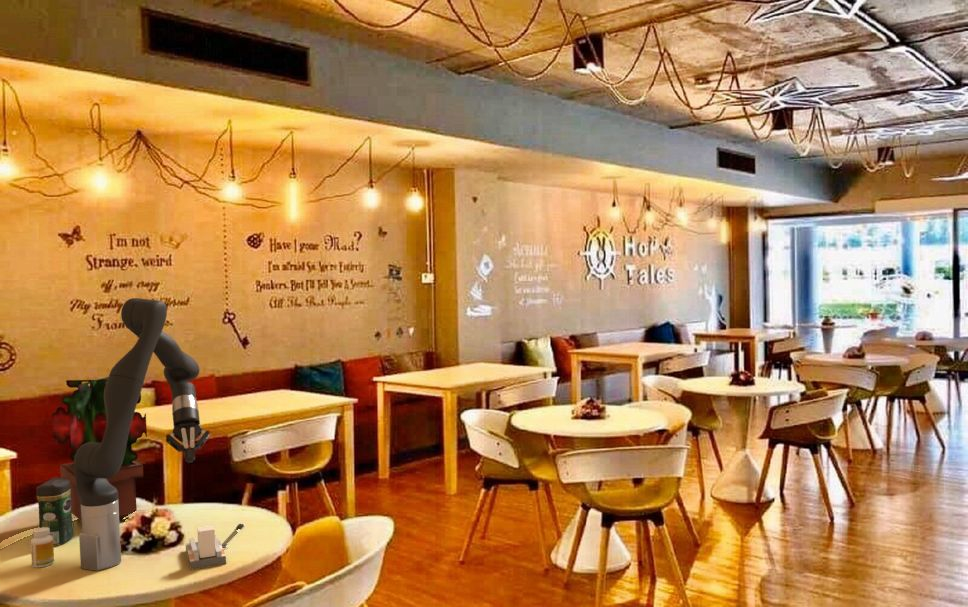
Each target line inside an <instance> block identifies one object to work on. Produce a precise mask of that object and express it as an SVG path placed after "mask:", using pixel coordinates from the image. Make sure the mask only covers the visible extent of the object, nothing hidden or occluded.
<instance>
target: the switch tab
mask: <svg viewBox="0 0 968 607" xmlns="http://www.w3.org/2000/svg"><path fill="white" fill-rule="evenodd" d="M196 529H197V542H198V553H199V557H200V558H205V557H211V556H216V554H215V535H216V534H215V533H216V532H215V530H216V529H215V527H214V525H213V524H211V525H205V526H198V527H197V528H196Z"/></svg>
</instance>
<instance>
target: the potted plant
mask: <svg viewBox="0 0 968 607" xmlns="http://www.w3.org/2000/svg"><path fill="white" fill-rule="evenodd" d="M108 377H109V376H107V377H103V378H99V379H74V380H73V379H68V380H67V379H66V380H65V383H66V386H67V387H68V388H71V389H72V388H75V390H73V392H72V394H71V395H64V396H62V397H61V403H62V404H63V405H65V406H66V407H67V411H66V409H65V408H64V407H62V406H59V407H57V408H56V411H55V412H53V413H52V414H51V416H52V418H51V419H52V435H53V439H56V440H57V442H58V443H59V444H60V445H65V444H66V443H67V441H68V439H69V440H70V443H69V448H70V449H71V450H74V452H71V453H70V456H69V457H70V459H71V461H73V462H69V463H63V464H60V478H66V479H68V480H69V481H70V487H71V494H70V501H71V513H72V516H74V517H76V518H77V519H78V520H79V521H80V522H81V523H82V519H81V500H80V497H79V495H78V493H77V489H76V480H75V471H74V459H75V455H76V452H77V450H78V449H79V448H80V446H82V445H83V444H85V443H88V442H98V443H101V442H102V440H103V437H104V434H105V430H106V426H107V415H106V409H105V404H104V390H105V386H106V383H107V380H108ZM76 388H77V389H76ZM141 401H142V392H141V393H140V396H139V399H138V402H137V404H140V403H141ZM147 428H148V427H147V413H144V416H142V414H141V413H140V412H138V411H135V412H134V415H133V419H132V422H131V426H130V430H129V435H128V440H127V445H126V450H125V455H124V459H123V462H122V465H121V468H120V469H119V471H118V472H117V474H116V475H114V476H113V477H111V478H106V479H107V480H108V482H109V483H110V484H111V485H112V486H114V487H115V488H116V489H117V491H118V504H119V522H120V521H123V520H122V519H123V518H124V517H126V516H128V515H129V516H130V515H133V514H134V513H133V512H135V511H138V510H137V509H138V508H137V491H136V490H137V487H136V479H138V478H144V464H143V463H140V462H139V461H137V459H138V457H139V455H138V454H137V453H136V452H135V451H132V449H133V448H132V445H134V444H136V443H137V441H138V439H139V438H142V437H143V434H144V436H145V437H148V432H147V430H148V429H147ZM132 513H133V514H132Z"/></svg>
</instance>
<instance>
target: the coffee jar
mask: <svg viewBox="0 0 968 607" xmlns="http://www.w3.org/2000/svg"><path fill="white" fill-rule="evenodd" d="M70 494H71V487H70V481H69V480H68V479H66V478H62V477H53V478H51V479H49V480H47V481H44V482H43V483H42V484H40V485H38V486H37V487H36V499H37V504H38V524H39V525H38V526H39V527H38V528H42V527H48V528H50V534H49V535H51V536H52V537H53V547H55V546H60V545H64V544H65V543H67V542H69V541H70V540H71V539H72V538H73V537H74V536H75V534H74V533H75V531H74V524H73V523H74V522H73V514H72V513H71V501H70Z"/></svg>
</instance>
